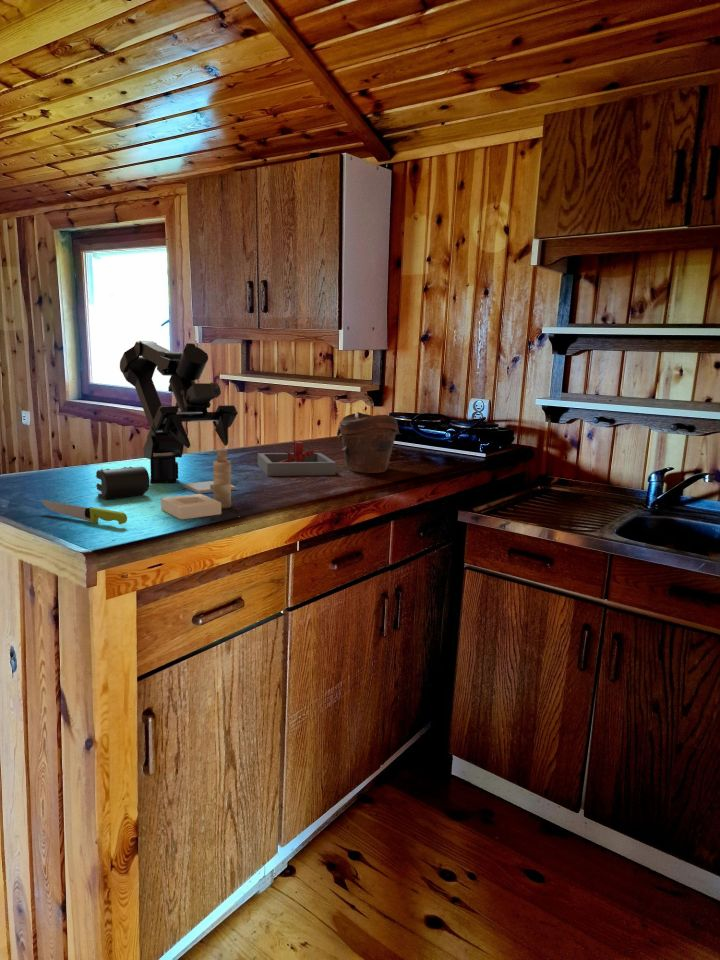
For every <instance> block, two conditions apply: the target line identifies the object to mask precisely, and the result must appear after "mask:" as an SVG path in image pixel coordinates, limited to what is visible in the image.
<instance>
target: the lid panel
mask: <svg viewBox="0 0 720 960" xmlns="http://www.w3.org/2000/svg"><path fill="white" fill-rule="evenodd" d="M182 488H184V489H185V490H186V489H187V490H189V491H192V492H194V493H196V494H208V493H213V480H210V481H199V482H190V483H188V482H187V483H183V484H182ZM235 490H237V486H235V485H233V484H231V491H235Z"/></svg>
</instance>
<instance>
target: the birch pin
mask: <svg viewBox="0 0 720 960" xmlns="http://www.w3.org/2000/svg"><path fill="white" fill-rule="evenodd" d="M212 465H213V466H212V467H213V468H212V469H213V471H212V472H213V473H212V474H213V480H212V481H213V492H212V494H213V496H212V497H213V498H212V499H214V500H216V501H219V502H221V509H227V508H231V507H232V490H231V485H232V461H231V460H228V450H227V449H217V450H216V460H214V461H212Z"/></svg>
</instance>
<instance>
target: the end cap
mask: <svg viewBox="0 0 720 960" xmlns="http://www.w3.org/2000/svg"><path fill="white" fill-rule="evenodd" d="M95 473H96V475H95V477H96V479H98V480H100V481H101V482H100V483H99V482H98V483H96V485H95V487H96V490H97V491H99V492H101V493H97V497H98V498H101V500H109V499H110V500H111V499H112V500H113V499H119V498H129V497H134V496H135V497H136V496H143V495H145V493H147V492H148V490H149V488H150V485H151V482H150V475H149V474H150V473H149V472H148V469H147V467H144V466H135V467H134V466H129V467H121V468H113V469H110V468H106V469H103V468H101V469H98V470H97V471H96V472H95Z"/></svg>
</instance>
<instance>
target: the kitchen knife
mask: <svg viewBox="0 0 720 960" xmlns="http://www.w3.org/2000/svg"><path fill="white" fill-rule="evenodd" d="M40 502H41V503H42V504H43V505H44V506H45V507H46V508H47V509H48V510H49V511H51V512H54V513H59V514H62V515H65V516H69V517H73V518H76V519H80V520H83V521H86V522H90V523H91V524H97V523H99V519H100V520H103V521H104V522H112V521H117V522H118V525H123V524H125V523H127V521H128V516H127V514H126V513H125V512H122V511H116V510H110V509H104V508H98V507H84V506H80V505H73V504H66V503H62V502H56V501H50V500H45V499H44V500H43V499H40Z"/></svg>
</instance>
